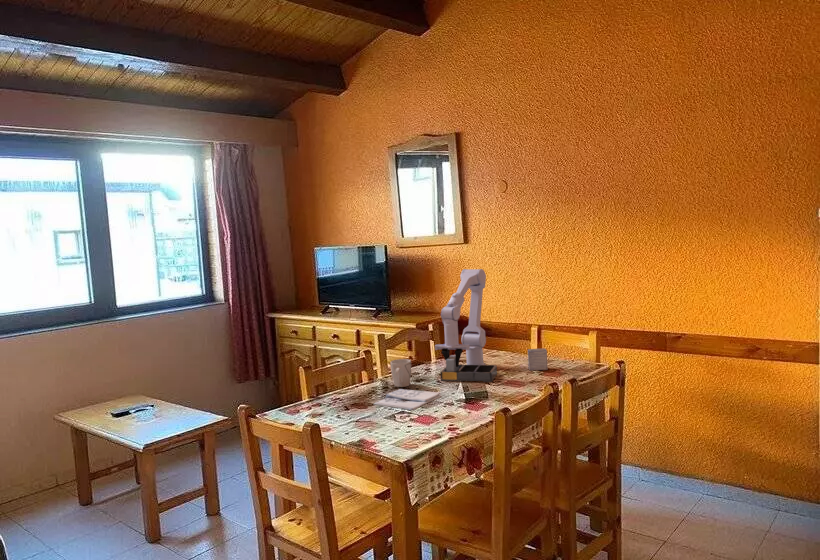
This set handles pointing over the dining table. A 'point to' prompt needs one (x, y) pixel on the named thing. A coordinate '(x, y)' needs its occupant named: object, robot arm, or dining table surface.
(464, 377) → the rack
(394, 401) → the open book
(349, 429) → the dining table surface
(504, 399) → the dining table surface
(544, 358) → the medicine box
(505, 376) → the dining table surface
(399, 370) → the mug
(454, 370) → the panel
